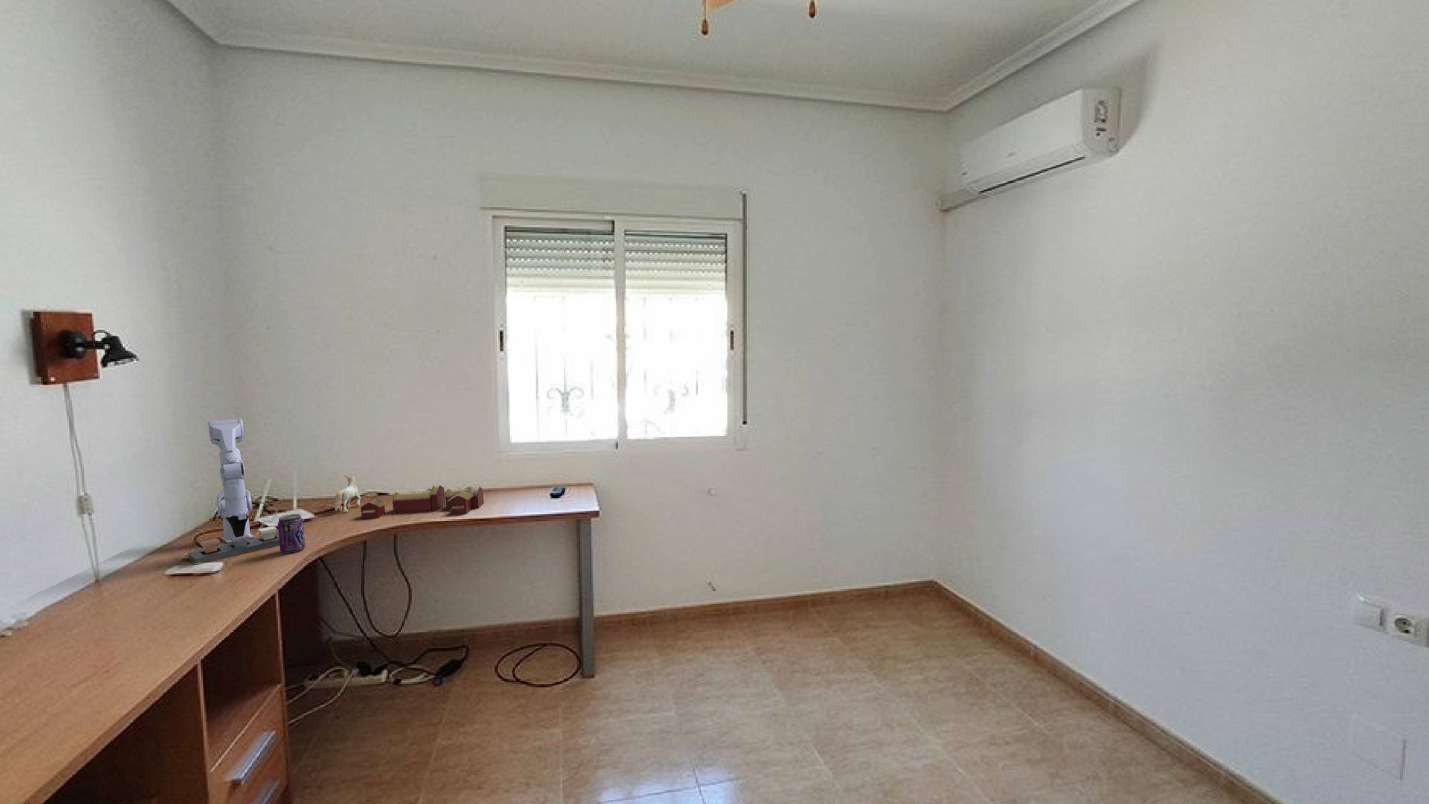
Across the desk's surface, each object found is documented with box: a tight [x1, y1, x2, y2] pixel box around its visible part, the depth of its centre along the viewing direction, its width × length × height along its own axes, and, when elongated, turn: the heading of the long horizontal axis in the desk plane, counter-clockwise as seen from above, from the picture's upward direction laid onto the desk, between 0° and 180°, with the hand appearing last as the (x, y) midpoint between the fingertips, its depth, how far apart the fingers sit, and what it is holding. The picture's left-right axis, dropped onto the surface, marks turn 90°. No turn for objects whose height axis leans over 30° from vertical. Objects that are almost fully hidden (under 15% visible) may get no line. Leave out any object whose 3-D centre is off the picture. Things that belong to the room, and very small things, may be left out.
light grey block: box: [230, 534, 250, 548], centre depth 207 cm, size 4×4×3 cm
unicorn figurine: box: [333, 474, 361, 513], centre depth 259 cm, size 7×20×13 cm, turn 18°
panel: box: [187, 533, 280, 564], centre depth 208 cm, size 10×26×2 cm, turn 140°
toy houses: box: [358, 485, 485, 520], centre depth 252 cm, size 45×20×10 cm, turn 96°
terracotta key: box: [199, 537, 221, 553], centre depth 201 cm, size 4×4×3 cm
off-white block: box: [257, 525, 278, 540], centre depth 213 cm, size 4×4×3 cm
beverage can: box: [277, 513, 306, 554], centre depth 205 cm, size 7×7×12 cm
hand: (239, 536), depth 207 cm, fingers closed, pressing on light grey block
